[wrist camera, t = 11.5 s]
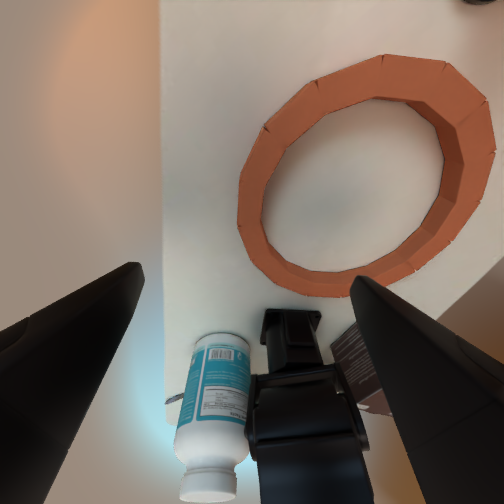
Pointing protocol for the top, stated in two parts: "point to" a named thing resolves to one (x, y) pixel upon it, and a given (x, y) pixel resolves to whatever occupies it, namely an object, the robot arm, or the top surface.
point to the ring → (352, 92)
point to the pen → (174, 399)
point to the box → (360, 372)
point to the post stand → (479, 1)
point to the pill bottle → (214, 419)
